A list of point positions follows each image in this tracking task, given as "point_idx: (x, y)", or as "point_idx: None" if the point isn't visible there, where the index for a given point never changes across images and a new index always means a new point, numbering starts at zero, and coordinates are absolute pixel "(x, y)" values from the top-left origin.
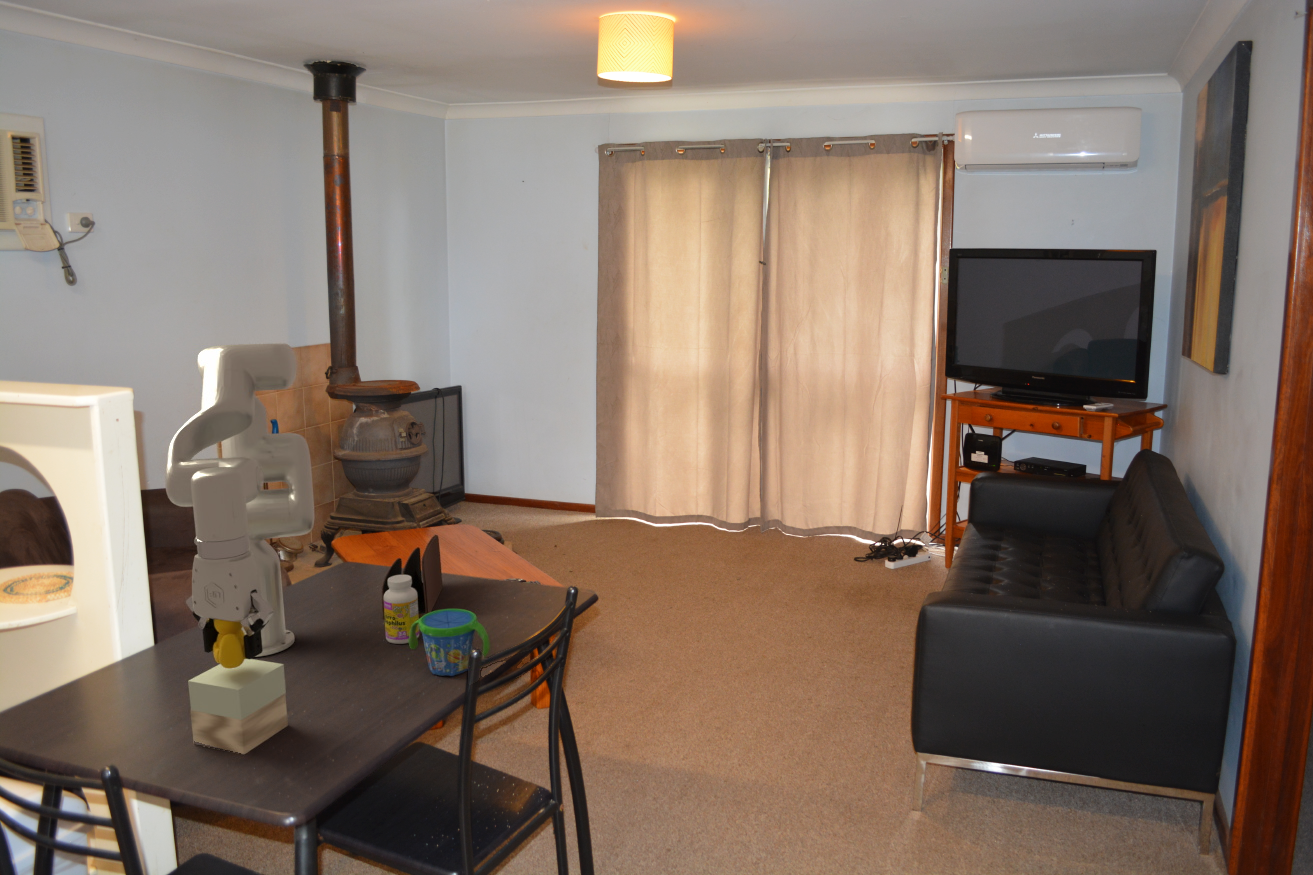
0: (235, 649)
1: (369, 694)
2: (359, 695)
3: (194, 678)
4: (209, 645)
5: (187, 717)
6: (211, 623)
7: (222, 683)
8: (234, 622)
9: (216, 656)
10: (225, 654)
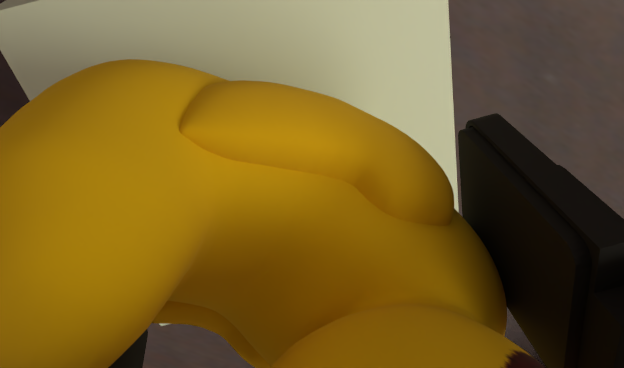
0: None
1: (174, 358)
2: (190, 344)
3: None
4: (482, 165)
5: (531, 5)
6: (612, 356)
7: (188, 14)
8: None
9: (252, 89)
10: (20, 109)
